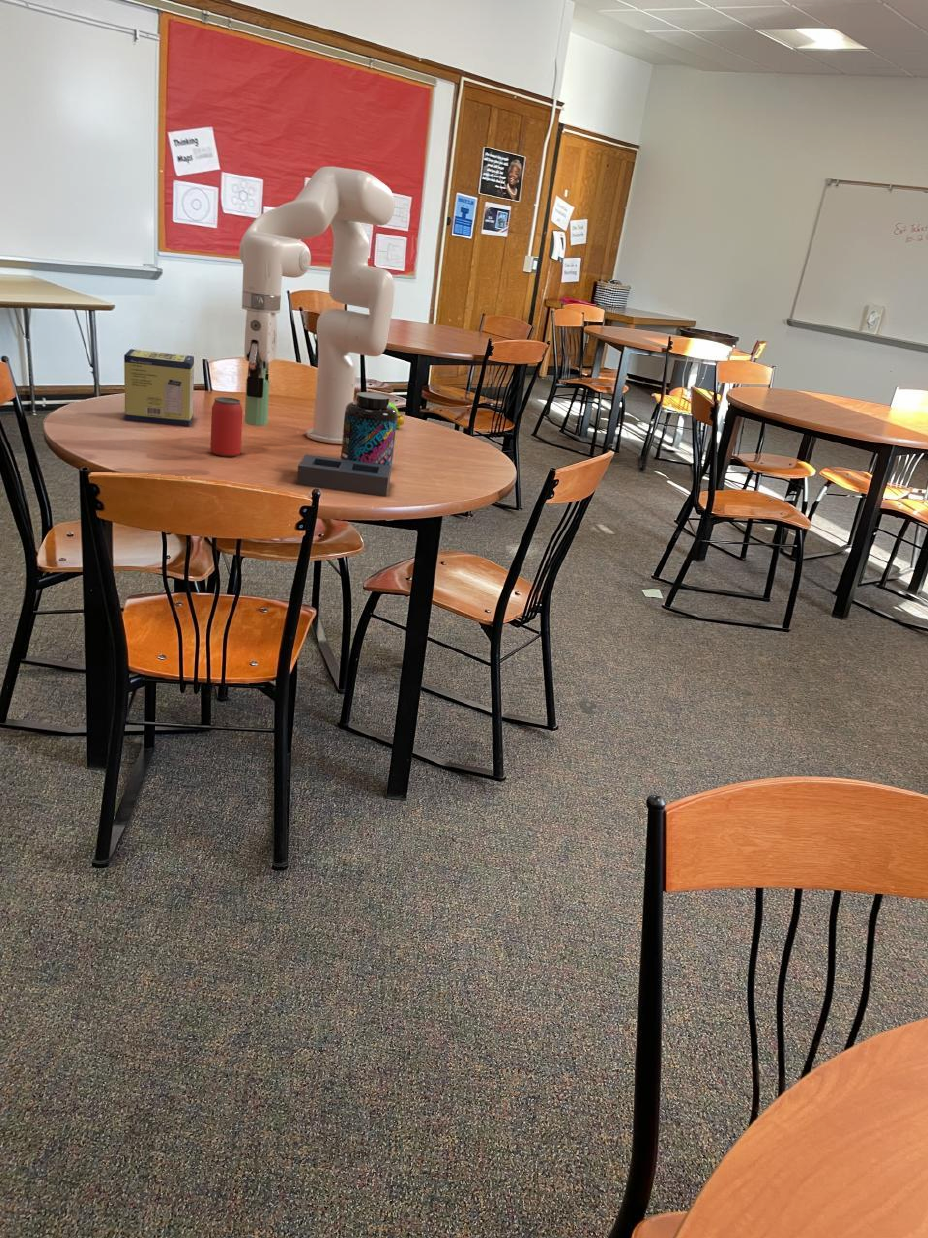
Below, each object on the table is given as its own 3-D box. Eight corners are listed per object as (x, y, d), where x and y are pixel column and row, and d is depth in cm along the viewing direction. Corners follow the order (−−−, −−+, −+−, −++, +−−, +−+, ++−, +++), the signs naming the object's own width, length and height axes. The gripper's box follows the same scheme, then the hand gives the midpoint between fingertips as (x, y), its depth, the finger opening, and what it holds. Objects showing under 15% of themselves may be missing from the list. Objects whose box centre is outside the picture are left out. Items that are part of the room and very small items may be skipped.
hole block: (304, 472, 196) (305, 454, 195) (389, 483, 198) (391, 465, 196) (296, 484, 186) (298, 465, 185) (386, 496, 188) (388, 477, 186)
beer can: (210, 456, 197) (212, 401, 193) (210, 448, 203) (211, 395, 198) (241, 458, 199) (243, 404, 195) (239, 451, 205) (242, 398, 200)
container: (387, 475, 204) (391, 401, 197) (334, 468, 205) (336, 394, 199) (399, 464, 214) (403, 393, 208) (348, 458, 216) (351, 387, 210)
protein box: (129, 411, 226) (129, 348, 220) (193, 418, 229) (195, 355, 223) (123, 420, 216) (122, 354, 210) (190, 426, 220) (192, 362, 214)
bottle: (247, 419, 191) (249, 364, 187) (269, 422, 192) (271, 367, 187) (242, 424, 187) (244, 368, 182) (264, 427, 187) (267, 371, 183)
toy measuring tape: (395, 431, 250) (398, 407, 247) (340, 416, 258) (342, 393, 256) (408, 429, 255) (411, 406, 252) (354, 414, 263) (356, 392, 261)
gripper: (272, 309, 172) (267, 404, 179) (287, 301, 187) (282, 389, 195) (232, 303, 172) (229, 399, 179) (251, 296, 187) (247, 384, 194)
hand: (257, 393), depth 187 cm, fingers closed on bottle, 4 cm apart
